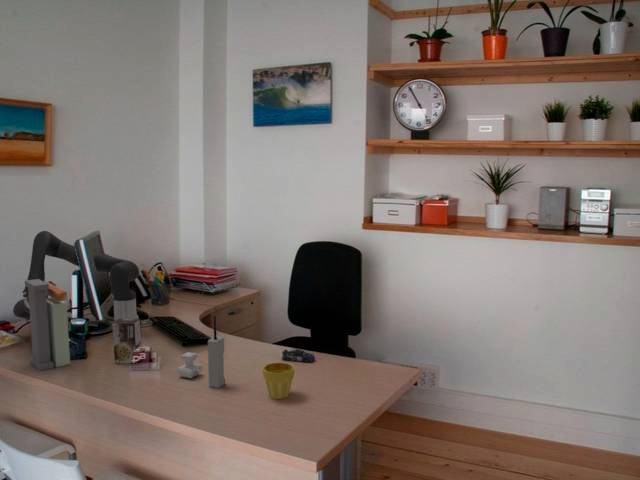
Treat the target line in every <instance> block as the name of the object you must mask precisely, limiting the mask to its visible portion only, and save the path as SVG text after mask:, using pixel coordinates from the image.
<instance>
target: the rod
mask: <svg viewBox="0 0 640 480" xmlns="http://www.w3.org/2000/svg"><path fill="white" fill-rule="evenodd" d="M43 282H45V283H47V284H49V289H48V290H46V294H47V295H48V297H49V298H54V299H55V300H57V301H64V302H65V301H67V300H68V298H67V297H68V296H67V295H68V294H67V291H65V290H63V289H61V288H59V287H58V286H57V285H56V286H57V287H56V286H54V285H52V284H50V283H48V282H49V281H46V280H45V281H43Z"/></svg>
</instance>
